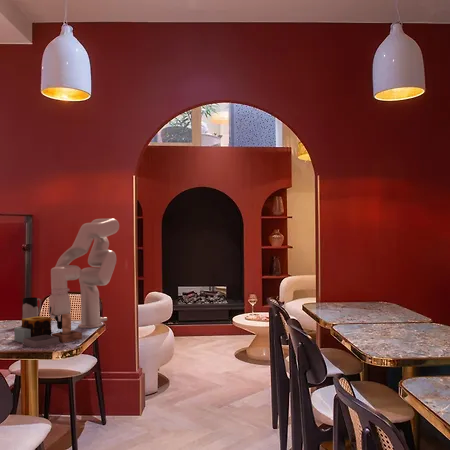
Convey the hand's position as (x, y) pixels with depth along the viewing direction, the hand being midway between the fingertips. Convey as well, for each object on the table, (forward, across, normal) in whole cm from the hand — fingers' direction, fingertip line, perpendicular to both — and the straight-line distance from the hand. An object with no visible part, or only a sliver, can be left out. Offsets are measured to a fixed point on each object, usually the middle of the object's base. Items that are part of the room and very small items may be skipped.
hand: (60, 328), depth 245 cm
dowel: (+3, +5, +14) cm, 15 cm away
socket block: (+3, +5, +14) cm, 15 cm away
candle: (+3, +13, 0) cm, 13 cm away
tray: (+2, +17, +13) cm, 22 cm away
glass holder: (+4, -5, -38) cm, 38 cm away
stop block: (+2, +20, 0) cm, 20 cm away
